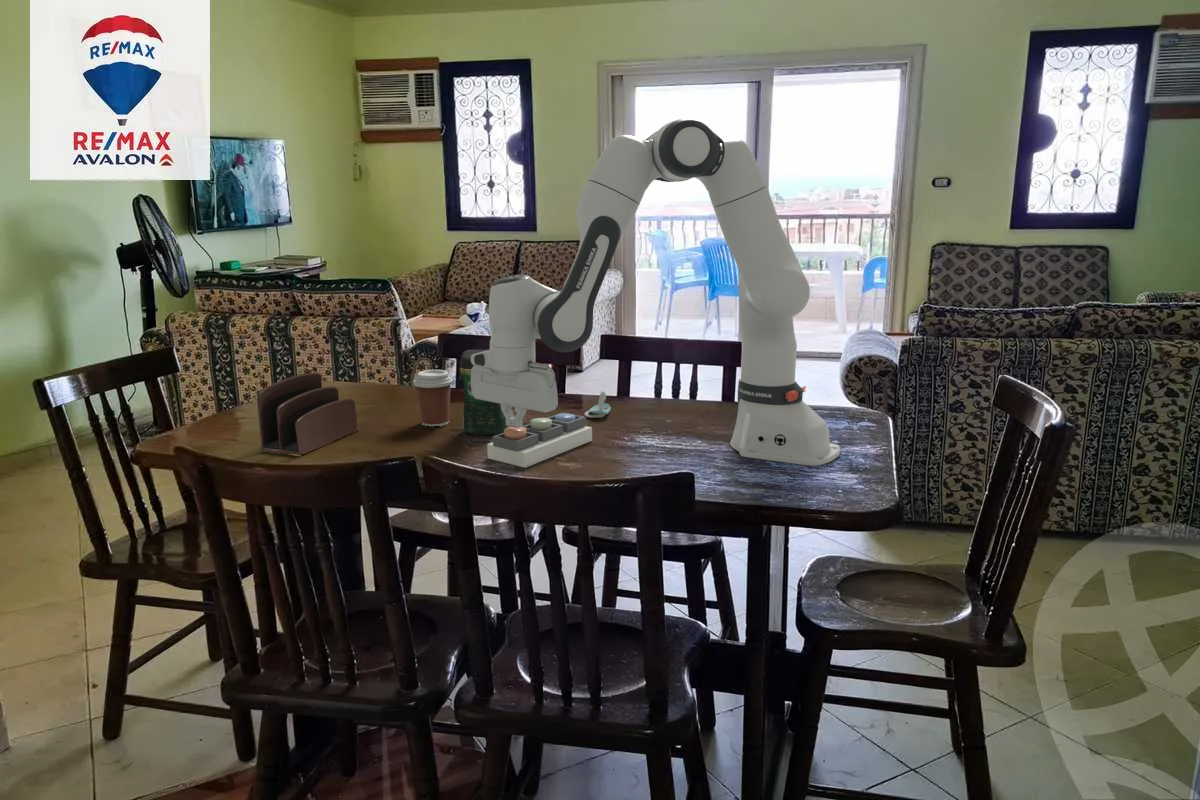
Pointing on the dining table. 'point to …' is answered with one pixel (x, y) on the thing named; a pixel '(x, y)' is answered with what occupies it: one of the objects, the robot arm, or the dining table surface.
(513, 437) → the terracotta button
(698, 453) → the dining table surface
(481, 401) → the coffee jar
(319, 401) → the letter holder
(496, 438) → the button panel
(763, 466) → the dining table surface
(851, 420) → the dining table surface
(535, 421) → the sage button
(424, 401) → the coffee cup
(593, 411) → the pacifier
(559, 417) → the blue button
